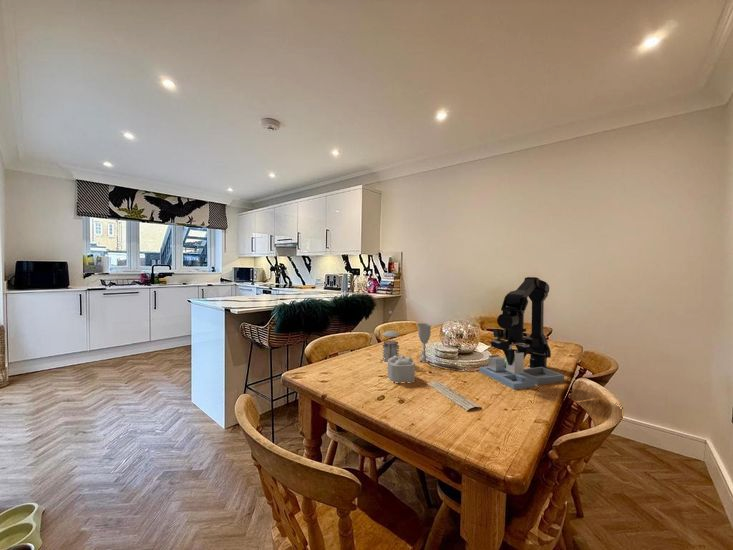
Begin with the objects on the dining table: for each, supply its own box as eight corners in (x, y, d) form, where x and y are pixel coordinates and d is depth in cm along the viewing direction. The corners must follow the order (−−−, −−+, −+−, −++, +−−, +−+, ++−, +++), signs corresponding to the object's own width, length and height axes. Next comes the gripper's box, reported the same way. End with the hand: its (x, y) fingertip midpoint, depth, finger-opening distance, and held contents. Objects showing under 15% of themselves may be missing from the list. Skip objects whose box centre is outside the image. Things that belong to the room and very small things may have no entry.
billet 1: (497, 373, 132) (497, 354, 132) (504, 376, 128) (504, 357, 128) (488, 374, 131) (488, 355, 131) (495, 378, 127) (496, 358, 127)
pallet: (497, 370, 136) (497, 365, 136) (534, 387, 117) (534, 381, 117) (478, 372, 133) (479, 367, 133) (513, 390, 114) (513, 384, 114)
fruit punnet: (392, 384, 120) (392, 362, 119) (384, 373, 132) (384, 353, 132) (417, 382, 121) (417, 361, 121) (407, 371, 134) (407, 352, 134)
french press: (400, 359, 152) (401, 309, 151) (401, 367, 140) (401, 313, 139) (381, 358, 153) (381, 309, 152) (379, 366, 141) (380, 312, 140)
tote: (541, 373, 132) (541, 366, 132) (564, 382, 122) (564, 375, 122) (516, 376, 128) (516, 369, 128) (537, 386, 118) (537, 378, 118)
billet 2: (514, 369, 123) (515, 349, 122) (523, 372, 119) (523, 352, 118) (506, 370, 121) (506, 350, 121) (514, 374, 117) (514, 353, 117)
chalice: (427, 364, 144) (427, 326, 144) (414, 361, 149) (414, 324, 148) (433, 360, 150) (434, 324, 150) (421, 357, 154) (421, 322, 154)
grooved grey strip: (426, 386, 119) (427, 382, 119) (442, 384, 122) (442, 379, 122) (466, 413, 97) (467, 408, 97) (484, 410, 100) (484, 404, 100)
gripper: (518, 320, 130) (517, 356, 130) (481, 322, 124) (481, 360, 125) (540, 325, 119) (539, 364, 120) (501, 328, 114) (500, 369, 114)
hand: (514, 364), depth 120 cm, fingers closed on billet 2, 4 cm apart
